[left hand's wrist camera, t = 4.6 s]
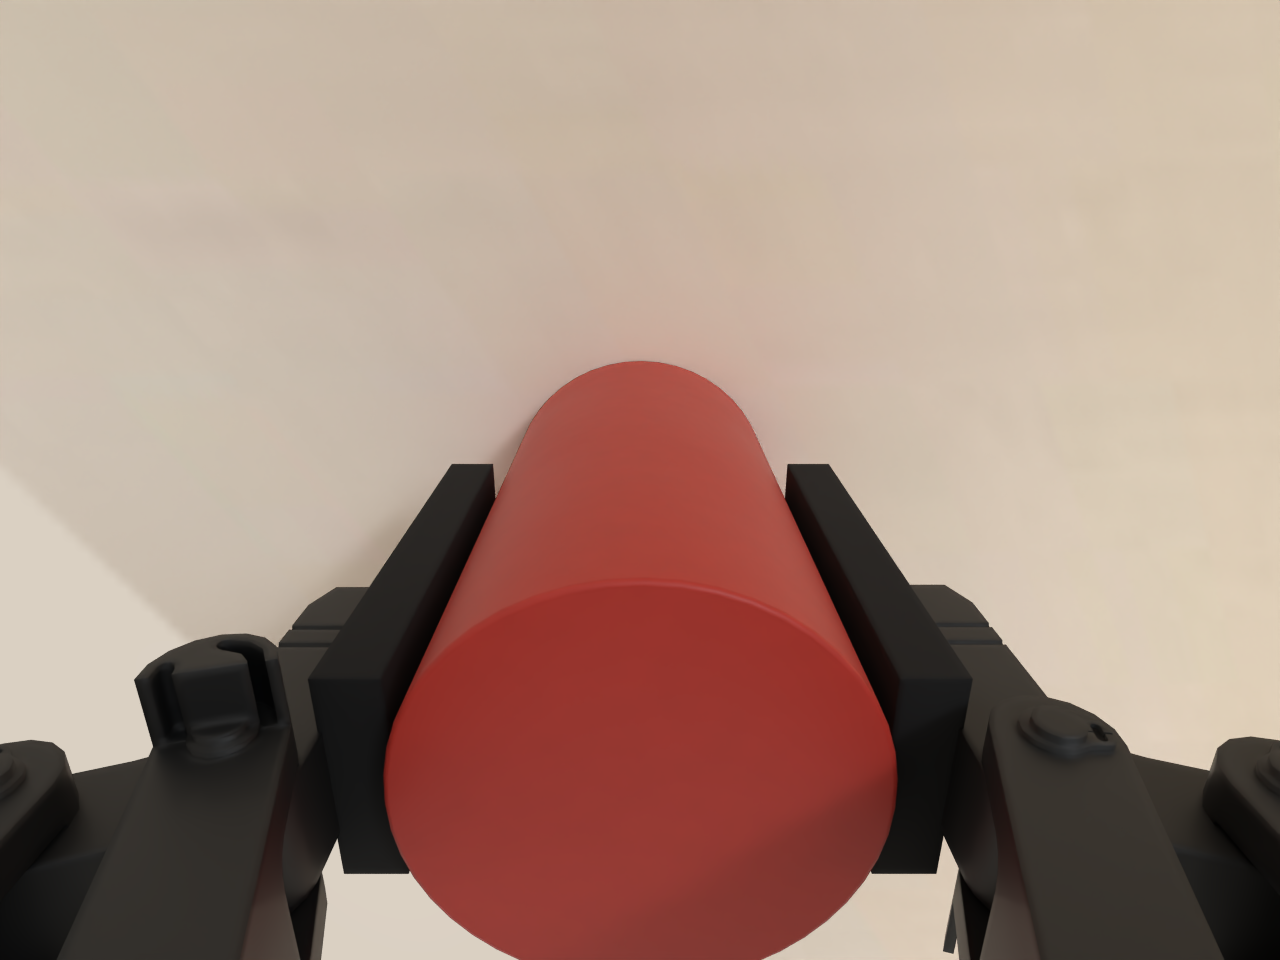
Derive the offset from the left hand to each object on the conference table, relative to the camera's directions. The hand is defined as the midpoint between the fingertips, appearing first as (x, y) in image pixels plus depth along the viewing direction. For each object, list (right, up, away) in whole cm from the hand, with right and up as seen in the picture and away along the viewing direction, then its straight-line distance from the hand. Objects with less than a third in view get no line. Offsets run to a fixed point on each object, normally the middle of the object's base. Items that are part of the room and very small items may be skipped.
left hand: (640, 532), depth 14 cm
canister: (0, +1, +2) cm, 3 cm away
